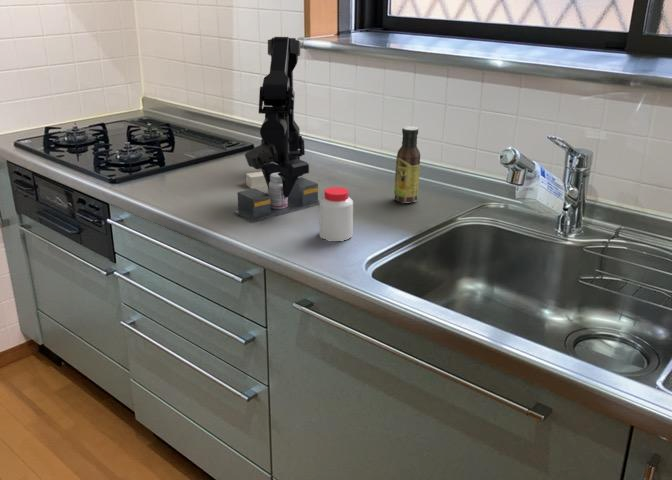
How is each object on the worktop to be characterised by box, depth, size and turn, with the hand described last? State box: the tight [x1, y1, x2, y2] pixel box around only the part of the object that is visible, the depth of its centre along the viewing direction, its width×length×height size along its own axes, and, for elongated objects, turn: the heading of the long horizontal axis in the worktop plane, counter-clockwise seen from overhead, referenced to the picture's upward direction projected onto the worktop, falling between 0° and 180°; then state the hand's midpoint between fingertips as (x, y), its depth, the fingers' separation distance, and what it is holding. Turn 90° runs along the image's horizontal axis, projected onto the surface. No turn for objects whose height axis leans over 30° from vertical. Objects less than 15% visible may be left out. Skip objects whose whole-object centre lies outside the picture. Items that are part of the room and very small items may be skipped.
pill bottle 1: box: [269, 173, 288, 209], centre depth 171 cm, size 5×5×8 cm
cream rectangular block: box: [245, 170, 268, 189], centre depth 190 cm, size 5×4×4 cm
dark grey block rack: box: [233, 176, 321, 224], centre depth 172 cm, size 22×8×6 cm, turn 130°
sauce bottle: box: [393, 125, 421, 203], centre depth 176 cm, size 6×6×20 cm
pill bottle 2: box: [319, 186, 354, 241], centre depth 155 cm, size 8×8×11 cm
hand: (278, 193), depth 172 cm, fingers open, 6 cm apart
